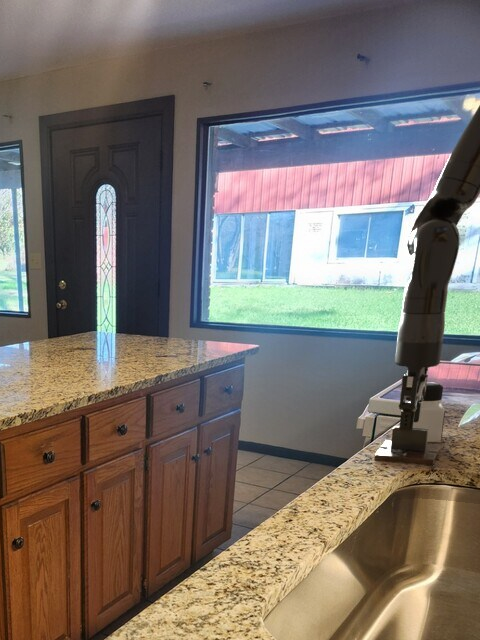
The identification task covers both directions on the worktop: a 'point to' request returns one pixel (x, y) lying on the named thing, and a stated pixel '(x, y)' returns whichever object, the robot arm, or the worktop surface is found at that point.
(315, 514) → the worktop surface
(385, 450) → the panel
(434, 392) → the medicine bottle
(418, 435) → the dark grey upright block
